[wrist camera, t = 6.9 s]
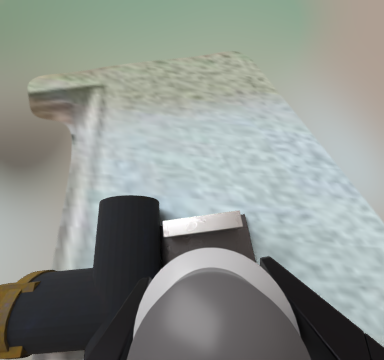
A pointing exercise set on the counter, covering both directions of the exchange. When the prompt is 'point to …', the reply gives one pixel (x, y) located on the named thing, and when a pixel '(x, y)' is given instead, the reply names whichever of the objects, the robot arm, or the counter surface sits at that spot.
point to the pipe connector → (83, 285)
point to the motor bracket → (205, 235)
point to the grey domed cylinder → (215, 312)
